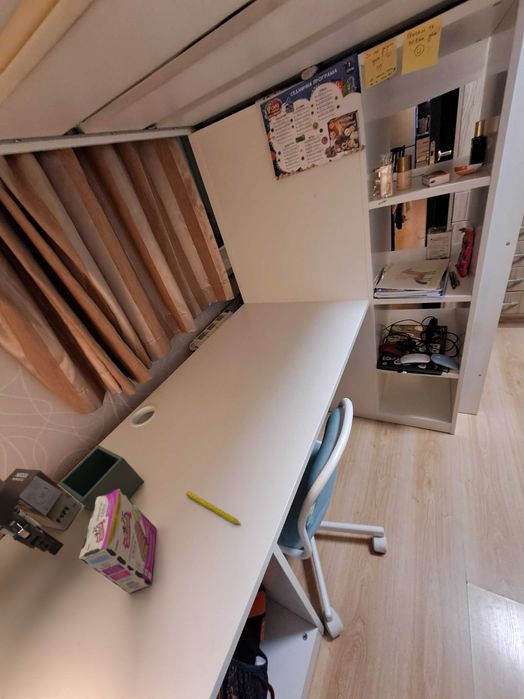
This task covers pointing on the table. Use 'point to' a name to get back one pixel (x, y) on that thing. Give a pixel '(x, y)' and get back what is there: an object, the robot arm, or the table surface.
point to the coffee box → (43, 498)
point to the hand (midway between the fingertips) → (43, 540)
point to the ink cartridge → (56, 546)
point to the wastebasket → (100, 477)
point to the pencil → (213, 508)
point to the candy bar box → (120, 542)
